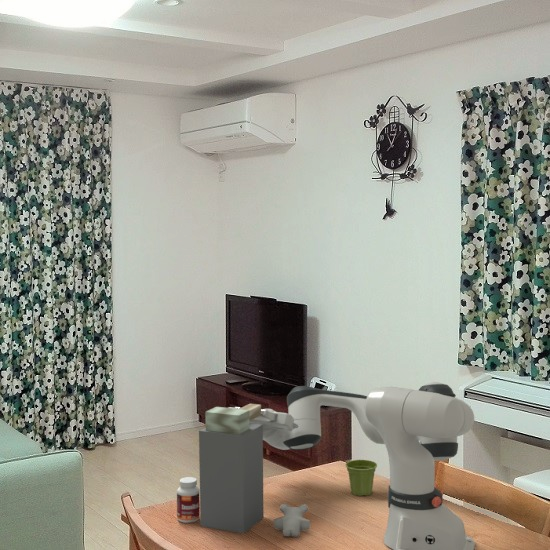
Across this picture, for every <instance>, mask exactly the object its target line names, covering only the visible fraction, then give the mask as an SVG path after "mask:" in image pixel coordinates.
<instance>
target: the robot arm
mask: <svg viewBox="0 0 550 550" xmlns="http://www.w3.org/2000/svg"><path fill="white" fill-rule="evenodd" d="M286 404H287V409H288V410H287V412H288V413H286V412H280V411H279V412H278V411H275V410H274V409H272V408H263V409H261V413H260V416H259V417H257V418H255V419H253V420H251V421H249V423H253V424H262V425H263V442H264V441H265V442H266V443H267V444H268V445H270V446H272V447H273V448H276V449H278V450H282V451H283V450H284V451H286V450H292V451H305V450H309V449H312V448H314V447H315V446H317V444H319V443H320V441H321V439H322V423H321V406H327V407H333V408H334V407H336V408H341V409H342V408H343V409H348V410H349V411H351V412H352V413H353V414H354V415H355V417H356V419H357V421H358V423H359V425H360V428H361V430H362V431H363V433H364V435H365V436H366V437H367V439H369V441H371V442H373V443H375V444H378V445H385V448H386V452H387V454H388V461H389V463H388V464H389V485H388V490H387V505H388V506H387V507H388V517H387V524H386V529H385V533H384V536H383V542H384V545H386V546H387V547H389V548H390V549H392V550H475V549H476V543H475V540H474V539H473V538H472V537H471V536H470V535H469V536H468V535H466V528H465V524H464V522H463V520H462V518H460V517H459V516H458V515H457V514H456V513H454V511H452V510H451V509H450V508H448V507H447V506H446V505H445V504H444V503H443V500H444V499H443V496H444V490H443V489H441V491H440V490H438V488H436V487H435V486H436V485H435V480H436V479H435V475H436V474H435V470H436V469H435V467H436V463H435V461H436V462H437V461H438V462H444V461H447V460H449V459H451V458H454V457H456V455H457V454H458V449H459V443H458V437H461V436H463V435H465V434H467V433H469V432H470V431H471V430H472V429H473V426H474V423H475V415H474V410H473V409H472V408H471V406H470V405H469V404H468V403H466V402H465V401H463V400H462V399H460V398H457V397H456V393H454V391H453V389H452V388H451V386H450V385H448V384H445V383H442V382H439V381H438V382H437V381H436V382H434V381H433V382H429V383H427V384H424V385H422V386H420V388H419V389H411V388H404V387H399V386H398V387H397V386H382V387H375V388H373V389H372V390H371V391H370V392H369V393H368V395H363V394H358V393H351V392H344V391H336V390H328V389H323V388H322V389H320V388H316V387H312V386H309V385H300V386H299V385H298V386H295V387H293V388H292V389H291V390H290V392H289V393H288V394H287V396H286ZM228 408H233V409H240V408H241V407H240V406H235V407H231V406H230V407H229V406H228Z"/></svg>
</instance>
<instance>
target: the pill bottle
mask: <svg viewBox="0 0 550 550" xmlns="http://www.w3.org/2000/svg"><path fill="white" fill-rule="evenodd" d="M197 480H198V479H197V478H196V477H192V476H186V477H182V478H180V479H179V487H178V488H177V490H176V519H177V521H179V522H181V523H184V524H190V523H194V522H197V521H198V520H199V519H200V487H198V485H197V484H198V483H197V482H198V481H197Z"/></svg>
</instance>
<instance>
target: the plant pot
mask: <svg viewBox="0 0 550 550" xmlns="http://www.w3.org/2000/svg"><path fill="white" fill-rule="evenodd" d="M345 467H346V471H347V473H348V477H349V479H348V480H349V485H350V492H351V494H352V495H354V496H357V497H361V496H370V495H371V494H372V493H373V487H374V480H375V479H374V478H375V472H376V470H377V469H376V468H377V467H378V464H377V463H376V462H375V461H372V460H368V459H354V460H350V461H349V460H348V461H347V462H346V463H345Z"/></svg>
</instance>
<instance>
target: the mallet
mask: <svg viewBox="0 0 550 550" xmlns="http://www.w3.org/2000/svg"><path fill="white" fill-rule="evenodd" d="M233 408H234V407H232V408H229V407H223V406H222V407H221V406H215V407H213V408H210V409H208V410H206V411H205V416H204V417H205V427H206V430H207V431H215V432H224V433H232V434H241V433H243V432H244V431H246V430H248V429H250V425H249V421H251V420H253V419H255V418H257V417H259V416H260V413H261V410H262V404H256V403H249V404H246V405H244V406H242V407H240V409H233Z"/></svg>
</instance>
